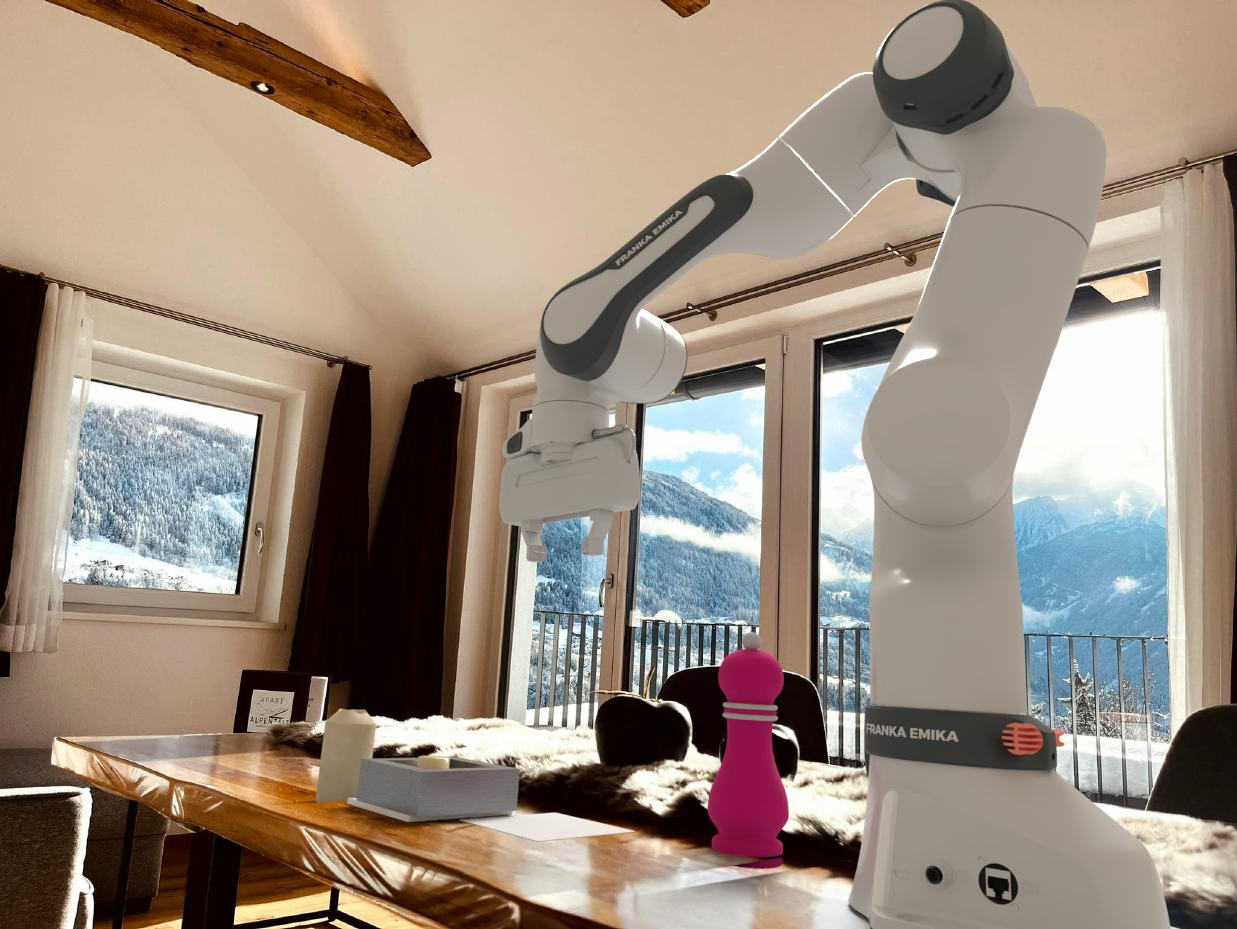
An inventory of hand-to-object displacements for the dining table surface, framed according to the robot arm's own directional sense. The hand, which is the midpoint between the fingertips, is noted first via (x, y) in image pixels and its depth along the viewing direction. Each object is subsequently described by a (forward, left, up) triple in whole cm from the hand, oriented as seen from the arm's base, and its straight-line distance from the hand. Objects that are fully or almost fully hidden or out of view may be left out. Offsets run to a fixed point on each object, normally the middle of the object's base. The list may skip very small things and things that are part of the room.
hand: (563, 558), depth 98 cm
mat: (-5, +4, -27) cm, 28 cm away
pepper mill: (-22, -5, -28) cm, 36 cm away
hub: (+8, +9, -27) cm, 30 cm away
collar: (+7, +9, -26) cm, 28 cm away
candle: (+21, +12, -28) cm, 37 cm away
